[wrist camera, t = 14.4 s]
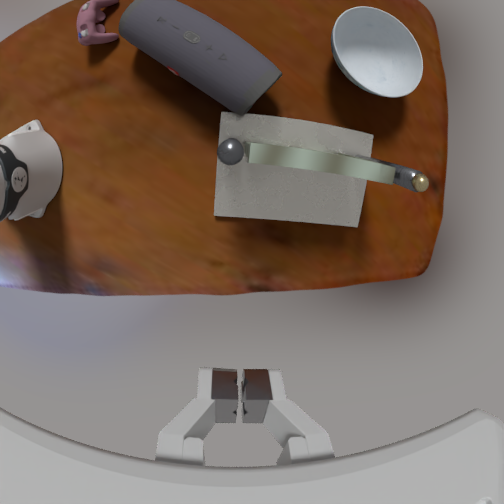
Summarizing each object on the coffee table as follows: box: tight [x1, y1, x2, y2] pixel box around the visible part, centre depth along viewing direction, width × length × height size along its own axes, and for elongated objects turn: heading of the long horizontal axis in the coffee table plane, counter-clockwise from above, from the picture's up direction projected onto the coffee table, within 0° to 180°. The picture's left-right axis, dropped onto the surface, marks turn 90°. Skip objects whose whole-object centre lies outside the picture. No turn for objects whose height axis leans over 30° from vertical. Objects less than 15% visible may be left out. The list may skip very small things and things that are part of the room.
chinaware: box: [331, 7, 423, 98], centre depth 30 cm, size 15×15×8 cm
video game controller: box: [77, 0, 119, 46], centre depth 25 cm, size 10×5×7 cm, turn 6°
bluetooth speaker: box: [119, 0, 282, 117], centre depth 28 cm, size 23×9×10 cm, turn 49°
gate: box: [244, 142, 396, 185], centre depth 32 cm, size 16×2×14 cm, turn 84°
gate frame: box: [214, 112, 429, 227], centre depth 32 cm, size 24×16×19 cm, turn 85°
